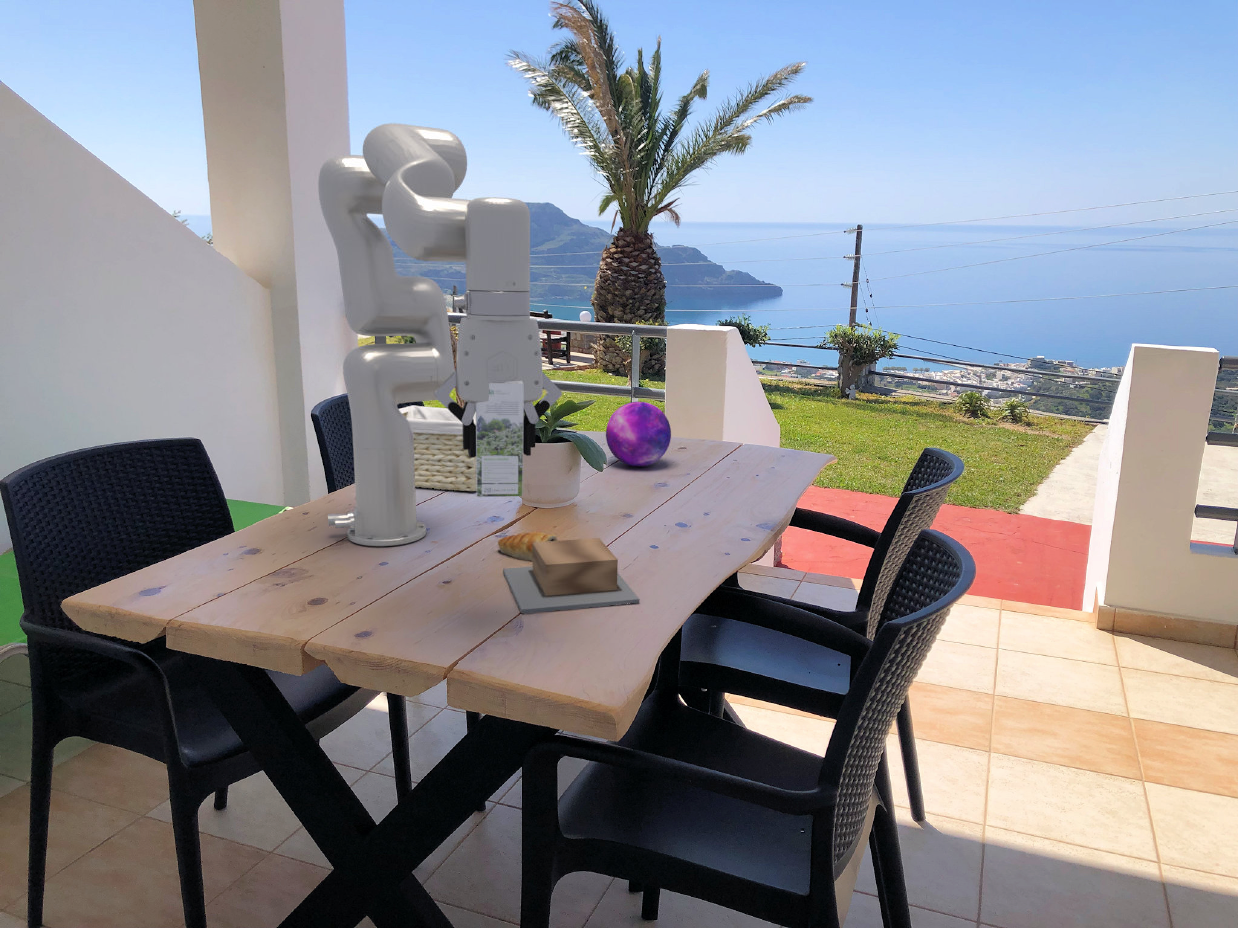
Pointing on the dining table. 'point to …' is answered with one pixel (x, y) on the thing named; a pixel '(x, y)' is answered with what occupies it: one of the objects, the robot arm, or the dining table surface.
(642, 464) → the decorative orb
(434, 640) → the dining table surface
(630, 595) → the slate mat
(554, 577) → the plinth
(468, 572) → the dining table surface
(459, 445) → the storage basket
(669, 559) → the dining table surface
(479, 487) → the syrup box
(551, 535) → the pastry
